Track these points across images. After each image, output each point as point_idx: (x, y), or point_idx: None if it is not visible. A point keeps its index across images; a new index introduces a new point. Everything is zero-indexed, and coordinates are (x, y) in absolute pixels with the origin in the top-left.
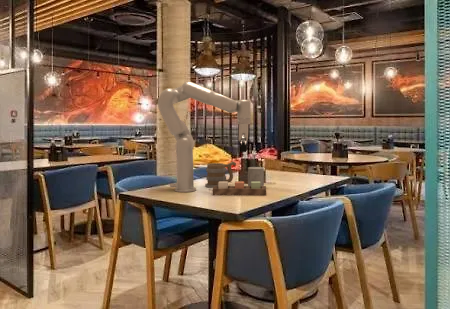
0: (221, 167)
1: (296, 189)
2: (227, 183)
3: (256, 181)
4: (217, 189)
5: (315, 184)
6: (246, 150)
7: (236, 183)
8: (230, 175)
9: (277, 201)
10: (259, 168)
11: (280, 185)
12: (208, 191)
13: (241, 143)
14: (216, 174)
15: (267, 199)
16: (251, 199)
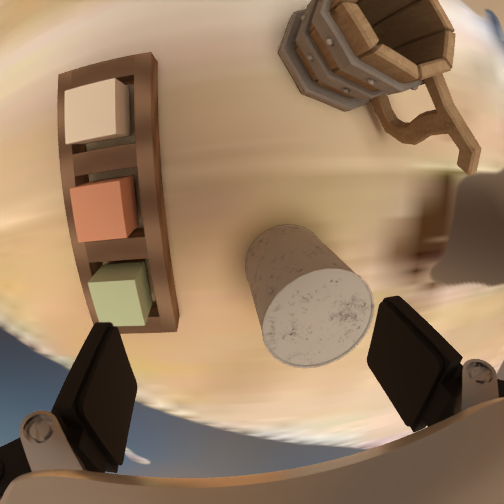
0: (357, 49)
1: (260, 404)
2: (72, 143)
3: (138, 307)
4: (59, 99)
5: (353, 427)
6: (371, 359)
7: (72, 198)
8: (404, 127)
9: (29, 346)
10: (299, 346)
11: (355, 351)
12: (177, 30)
13: (23, 438)
14: (316, 30)
15: (42, 320)
16: (23, 267)
